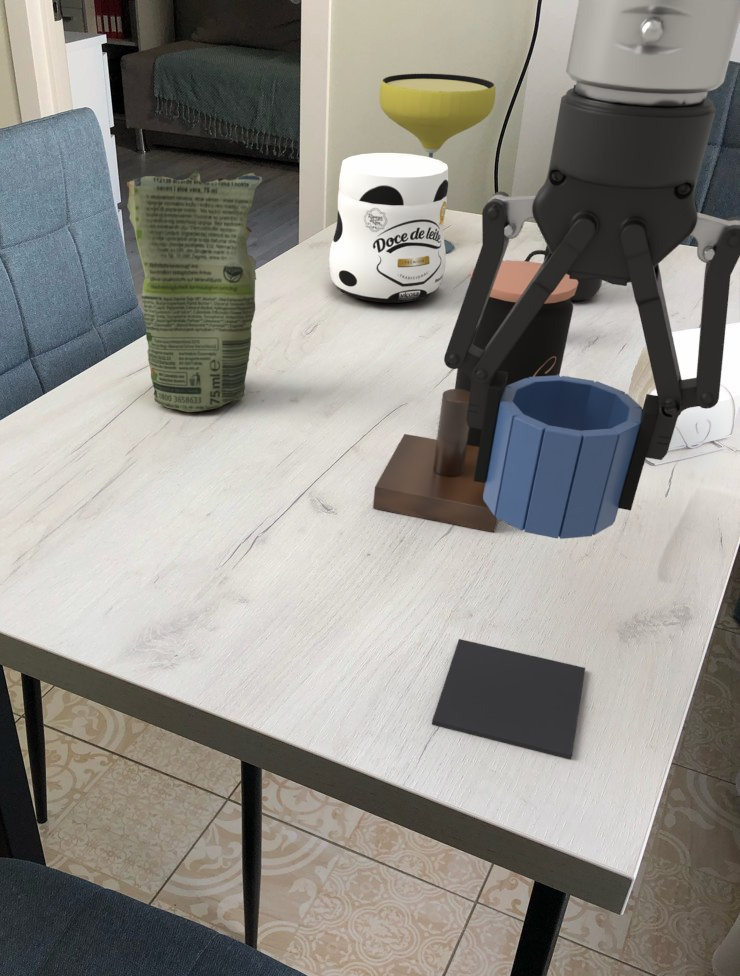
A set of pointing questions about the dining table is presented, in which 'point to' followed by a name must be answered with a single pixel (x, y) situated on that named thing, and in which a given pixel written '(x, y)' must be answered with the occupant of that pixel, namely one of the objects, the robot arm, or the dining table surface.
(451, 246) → the cocktail glass
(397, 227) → the doce de leite jar
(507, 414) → the ring
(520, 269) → the coffee jar
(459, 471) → the stand
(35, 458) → the dining table surface
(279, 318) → the dining table surface
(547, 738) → the mat
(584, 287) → the mug
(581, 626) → the dining table surface
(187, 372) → the pouch
